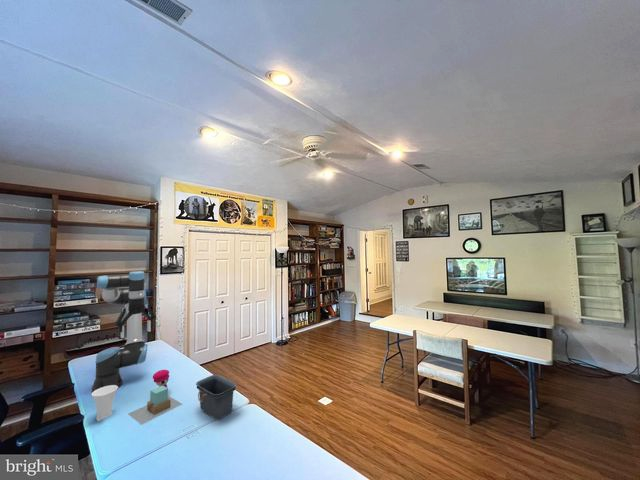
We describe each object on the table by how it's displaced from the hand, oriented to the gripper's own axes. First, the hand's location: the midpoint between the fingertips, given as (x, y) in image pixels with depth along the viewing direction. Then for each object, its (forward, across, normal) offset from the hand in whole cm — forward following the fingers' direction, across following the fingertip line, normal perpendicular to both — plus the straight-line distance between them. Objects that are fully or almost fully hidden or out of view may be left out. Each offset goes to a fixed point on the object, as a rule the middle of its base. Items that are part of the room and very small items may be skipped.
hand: (136, 334), depth 151 cm
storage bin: (+37, +17, -51) cm, 65 cm away
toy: (+37, +9, -11) cm, 40 cm away
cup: (+37, -16, -6) cm, 41 cm away
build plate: (+37, +1, -23) cm, 43 cm away
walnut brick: (+36, +2, -24) cm, 43 cm away
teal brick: (+32, +2, -24) cm, 40 cm away
